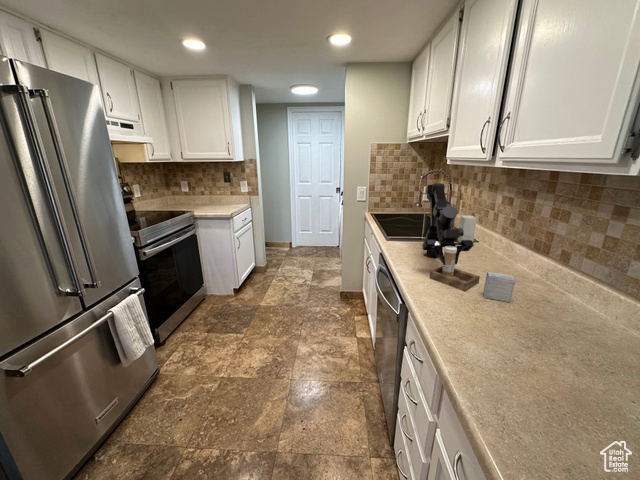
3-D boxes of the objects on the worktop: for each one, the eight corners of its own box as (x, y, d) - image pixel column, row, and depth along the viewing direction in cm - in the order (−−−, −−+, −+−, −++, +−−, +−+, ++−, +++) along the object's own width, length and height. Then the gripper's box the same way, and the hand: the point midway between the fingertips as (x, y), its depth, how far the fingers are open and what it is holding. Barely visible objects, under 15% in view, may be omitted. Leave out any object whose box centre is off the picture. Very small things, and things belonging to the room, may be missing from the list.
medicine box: (508, 297, 94) (513, 275, 92) (510, 303, 90) (516, 280, 88) (482, 292, 98) (486, 271, 95) (484, 298, 94) (488, 276, 91)
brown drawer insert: (429, 278, 110) (430, 271, 109) (443, 271, 116) (444, 265, 115) (465, 291, 98) (466, 284, 98) (478, 283, 105) (479, 276, 104)
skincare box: (472, 245, 149) (477, 218, 144) (460, 244, 151) (464, 217, 146) (468, 240, 157) (472, 215, 152) (456, 240, 158) (460, 214, 154)
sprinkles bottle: (439, 276, 110) (441, 246, 106) (446, 274, 112) (449, 244, 108) (448, 281, 107) (451, 249, 102) (456, 278, 108) (459, 247, 104)
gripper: (427, 220, 107) (431, 255, 100) (475, 221, 105) (483, 256, 98) (420, 233, 117) (424, 266, 110) (464, 234, 115) (471, 267, 108)
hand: (450, 264), depth 106 cm, fingers closed on sprinkles bottle, 4 cm apart
